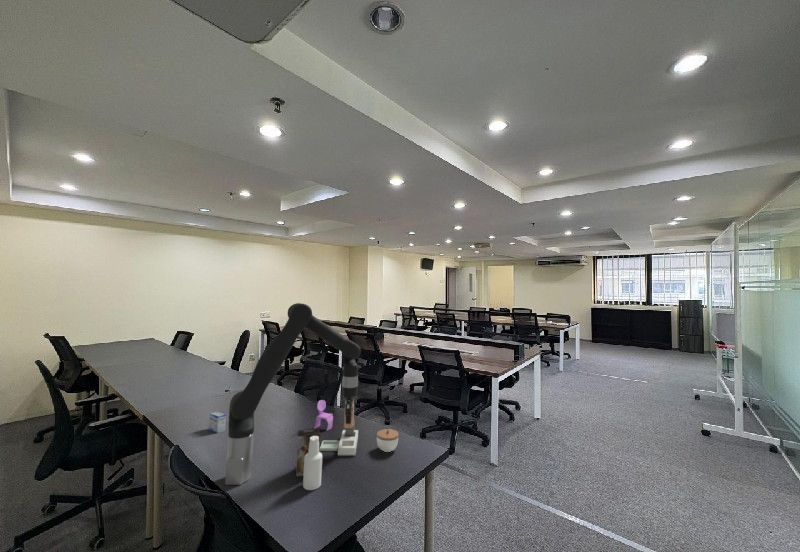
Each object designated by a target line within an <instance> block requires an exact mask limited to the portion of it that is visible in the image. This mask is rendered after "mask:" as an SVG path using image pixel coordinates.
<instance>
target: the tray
mask: <svg viewBox="0 0 800 552" xmlns="http://www.w3.org/2000/svg"><path fill="white" fill-rule="evenodd" d="M339 443H340V440H332V439H331V440H322V441H321V444H320V452H338V446H339Z"/></svg>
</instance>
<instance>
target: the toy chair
mask: <svg viewBox="0 0 800 552" xmlns="http://www.w3.org/2000/svg"><path fill="white" fill-rule="evenodd" d="M326 404H327V402H326V401H325V400H324V399H320V400H318V402H317V405H316V408H317V410H318V415H316V418H315V424H314V427H313V429H318V427H320V426H321V421H322V420H325V421H326V423H327V427H326V431H330V430H331V429H332V428H333V422H334V416H333V413H327V412H324V410H325V409H326V407H327V406H326Z"/></svg>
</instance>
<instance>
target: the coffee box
mask: <svg viewBox="0 0 800 552" xmlns="http://www.w3.org/2000/svg"><path fill="white" fill-rule="evenodd" d="M312 436H318V437H319V452H320V453H321V451H320V446H321V444H320V443H321V431H320V428H315V429H314V428H312V429H311V428H310V429H299V430H298V431H297V447H296V448H297V449H296V450H297V451H296V477H303V476H304V458H305V455H306V454H307V453H308V450H309V443H310V437H312Z"/></svg>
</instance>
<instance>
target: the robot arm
mask: <svg viewBox="0 0 800 552" xmlns="http://www.w3.org/2000/svg"><path fill="white" fill-rule="evenodd" d="M287 317H288V319H287V321H286V323H285V325H284V326H283V328H282V329H281V330H280V331H279V332H278V334H277V335H276V336H275V337H274V338H272V340H271V341H270V342H269V343H268V344H267V346H266V347H265V349H264V351H263V352H262V354H261V356H260V357H259V358H258V361H257V363H256V365H255V367H254V370H253V373H252V375H251V377H250V380H249V382H248V383H247V385H246V386H245V388H243V390H242V391H237V392H236V394H234V395H233V396H232V398H231V399H230V402H229V409H228V433H227V434H228V435H227V447H226V448H227V450H226V451H227V452H226V463H225V465H226V466H225V481H224V485H226V486H230V485H232V486H233V485H234V486H236V485H237V486H238V485H239V486H241V485H243V483H245V482H248V481H249V480H250V479H251V478H252V465H253V451H254V433H255V420H254V419H255V412H256V410H257V407H258V405H259V403H260V401H261V400H262V398H263V395H264V393H265V391H266V389H267V388H268V386H269V385H270V384H271V382H272V380H274V377H275V376H276V375H277V372H278V371H279V370H280V368H281V367H282V365H283V363H284V362H285V360H286V358H288V357H287V356H288V355H289V353H290V351H291V349H292V348H293V346H294V344H295V343H296V342H297V341H296V340H297V339H298V338H299V336H300V335H301V333H302V332H303V331H304V329H307V330H309V331H310V332H312V333H314V335H316V336H317V337H319V338H320V339H321V340H322V341H324V342H325V343H327V344H328V345H329V346H331V347H332V348H334V349H336V350H339V351H340V352H341V357H342V358H341V359H342V364H343V369H342V370H343V372H342V373H343V374H342V380H341V381H342V382H341V383H342V384H341V395H342V396H343V397H345V400H344V404H345V405H344V413H345V416H346V424H350V423H351V410H352V408H353V403H354V402H355V401H354V400H355V398H354V397H356V396H358V393H359V388H358V387H359V377H358V376H359V366H358V364H357V362H356V359H358V358H359V357H360V355H361V352H362V350H361V347H360V345H358V344H357V343H355V342H354V341H353V340H351V339H348V337H346V336H345V335H343V334H342V333H340V332H339V331H338V330H336V329H335V328H333V327H332V326H330V325H328V324H326V323H325V322H323V321H321V320H320V319H319V318H317V317H316V316H315V315H313V311H312V308H311V306H310V305H308V304H306V303H300V302H299V303H294V304H292V305H290V306H289V308H288V309H287ZM347 412H350V413H347Z"/></svg>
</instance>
